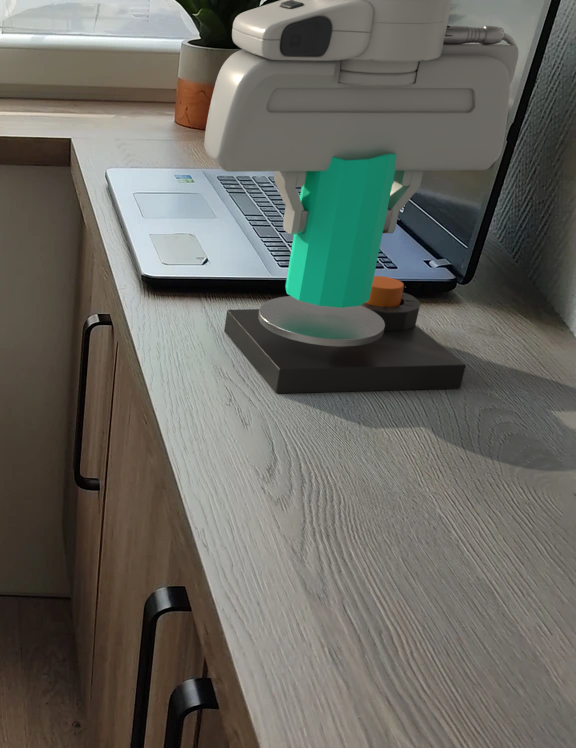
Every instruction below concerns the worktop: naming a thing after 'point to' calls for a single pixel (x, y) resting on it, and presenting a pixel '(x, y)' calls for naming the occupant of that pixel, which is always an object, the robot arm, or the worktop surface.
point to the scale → (349, 356)
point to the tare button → (386, 292)
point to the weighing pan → (321, 322)
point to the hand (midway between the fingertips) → (337, 231)
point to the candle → (341, 232)
